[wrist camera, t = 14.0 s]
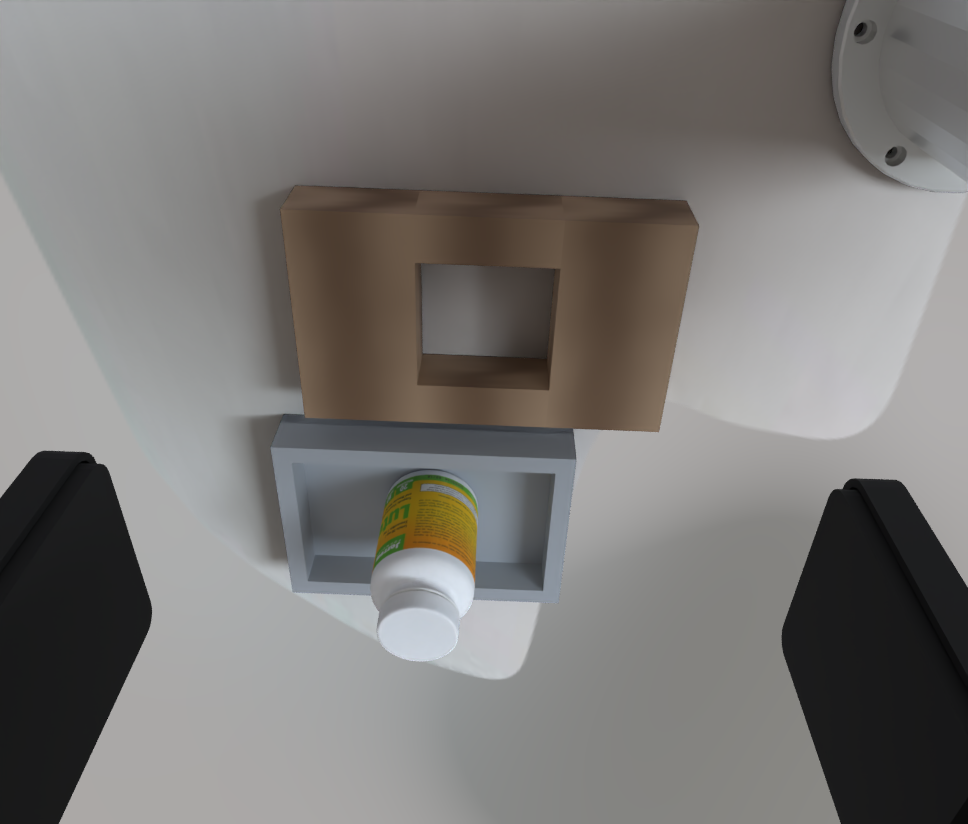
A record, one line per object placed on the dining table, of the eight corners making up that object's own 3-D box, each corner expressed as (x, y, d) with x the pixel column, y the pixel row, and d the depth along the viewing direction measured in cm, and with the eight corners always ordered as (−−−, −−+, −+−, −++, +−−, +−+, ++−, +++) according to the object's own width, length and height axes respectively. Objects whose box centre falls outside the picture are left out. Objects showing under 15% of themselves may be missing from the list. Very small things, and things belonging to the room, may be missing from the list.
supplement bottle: (404, 454, 45) (382, 584, 37) (493, 484, 46) (490, 617, 38) (373, 519, 48) (347, 653, 40) (457, 546, 49) (448, 682, 41)
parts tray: (572, 425, 44) (576, 459, 42) (556, 566, 51) (558, 603, 48) (283, 414, 44) (270, 447, 42) (303, 556, 51) (292, 592, 48)
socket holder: (686, 200, 37) (698, 225, 34) (650, 398, 43) (658, 432, 41) (295, 185, 37) (280, 209, 34) (316, 385, 43) (305, 417, 41)
